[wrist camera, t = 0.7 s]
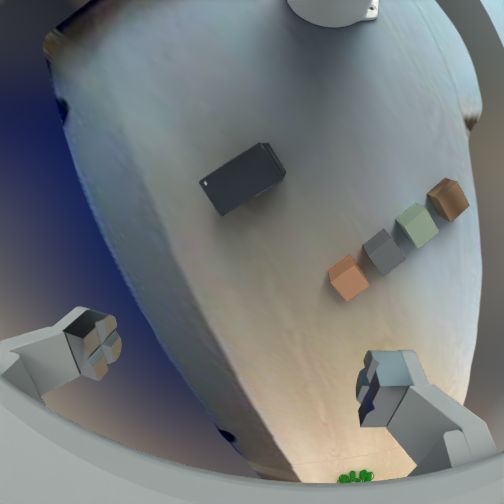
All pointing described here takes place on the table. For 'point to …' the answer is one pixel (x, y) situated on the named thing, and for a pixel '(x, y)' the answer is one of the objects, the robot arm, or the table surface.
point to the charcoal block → (383, 252)
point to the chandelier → (363, 475)
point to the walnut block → (448, 199)
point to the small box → (243, 178)
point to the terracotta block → (348, 278)
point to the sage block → (417, 225)
